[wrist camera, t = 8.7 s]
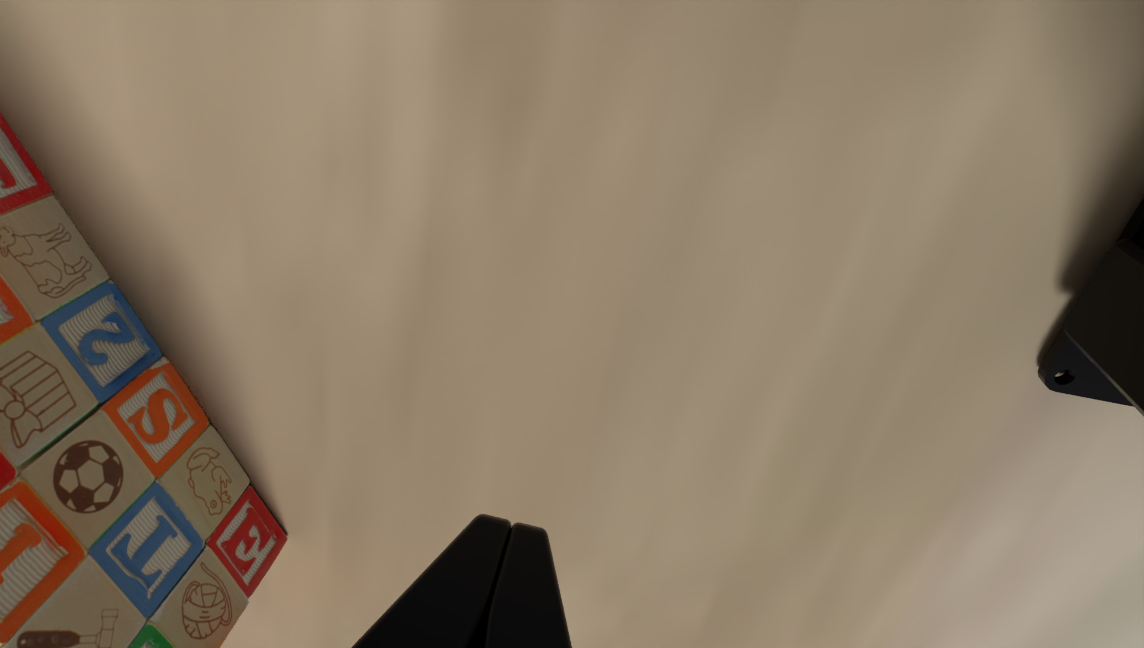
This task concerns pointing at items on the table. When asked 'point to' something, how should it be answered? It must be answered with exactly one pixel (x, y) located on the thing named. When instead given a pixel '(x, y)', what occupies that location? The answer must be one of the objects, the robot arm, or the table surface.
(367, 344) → the table surface
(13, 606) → the stack of blocks
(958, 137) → the table surface
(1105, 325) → the robot arm
